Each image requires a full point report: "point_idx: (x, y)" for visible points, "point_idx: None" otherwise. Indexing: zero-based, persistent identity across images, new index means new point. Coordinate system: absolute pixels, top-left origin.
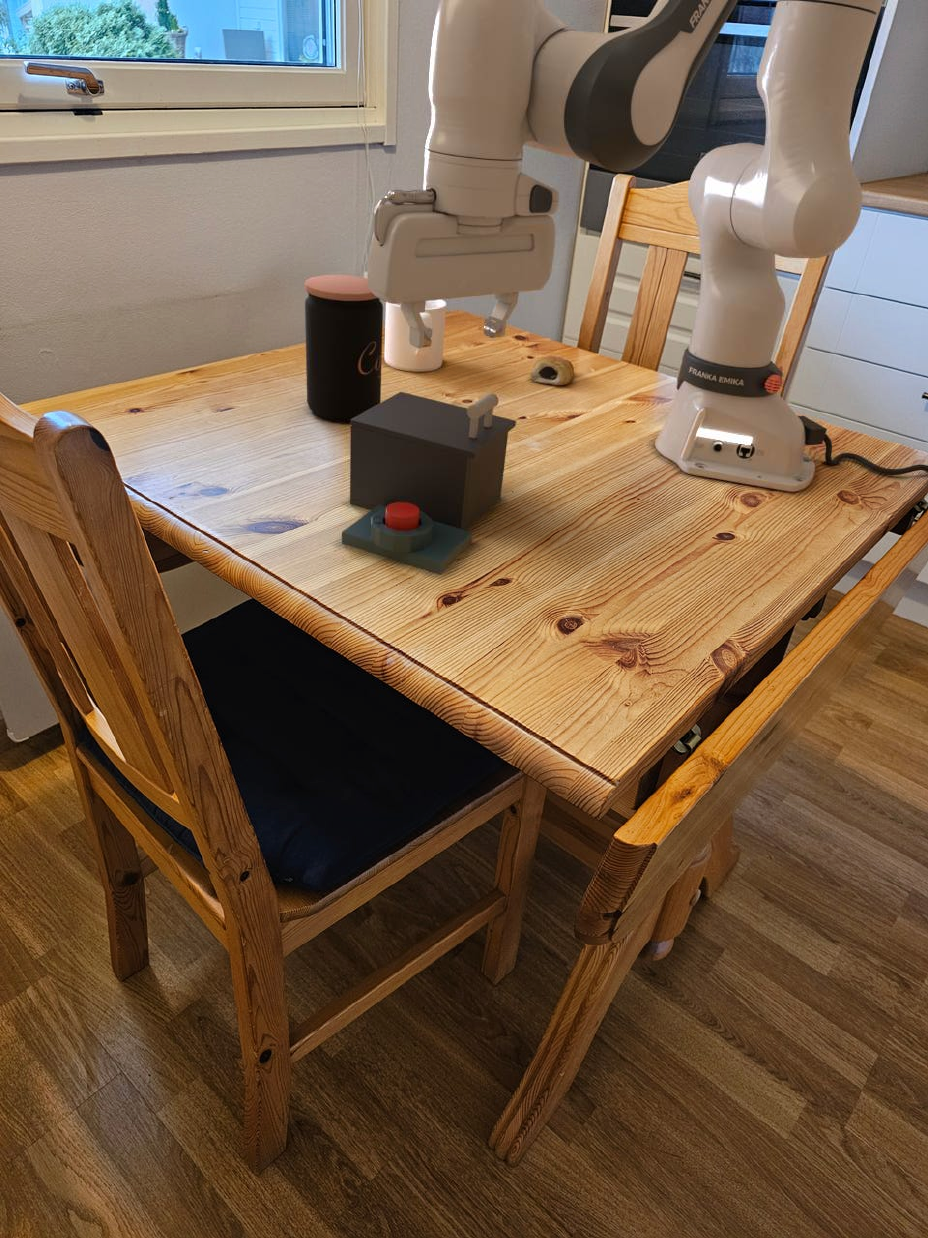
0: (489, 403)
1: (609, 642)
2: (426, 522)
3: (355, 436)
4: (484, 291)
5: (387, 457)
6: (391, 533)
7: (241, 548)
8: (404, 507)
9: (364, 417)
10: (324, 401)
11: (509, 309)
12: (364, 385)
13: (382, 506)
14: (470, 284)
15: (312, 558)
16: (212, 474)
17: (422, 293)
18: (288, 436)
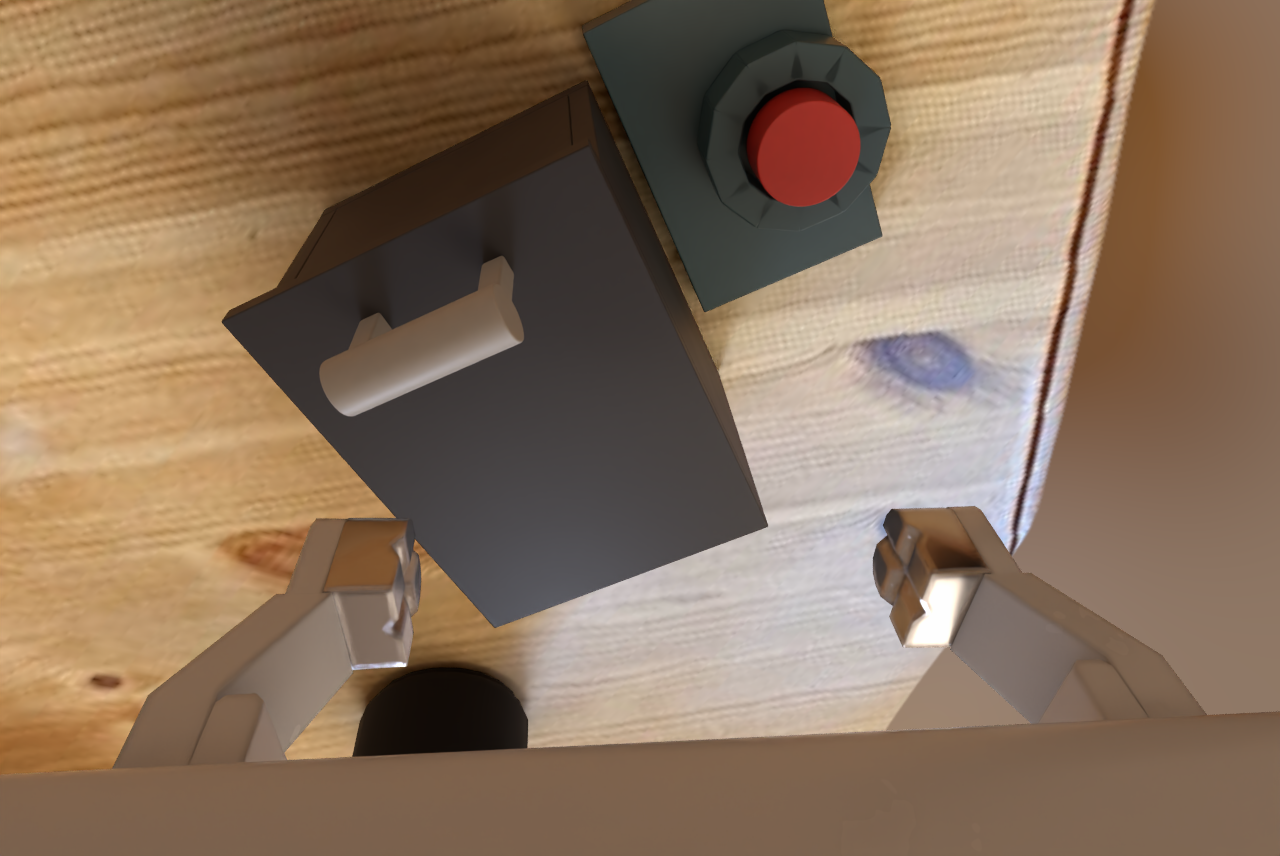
0: (400, 339)
1: None
2: (745, 96)
3: (752, 482)
4: (586, 769)
5: (708, 380)
6: (878, 94)
7: (1043, 314)
8: (795, 163)
9: (723, 524)
10: (516, 726)
11: (249, 651)
12: (426, 743)
13: (705, 298)
14: (781, 831)
15: (971, 199)
16: (857, 580)
17: (1277, 759)
18: (626, 657)
